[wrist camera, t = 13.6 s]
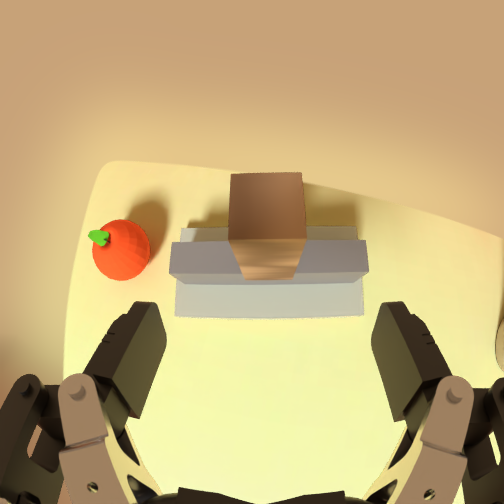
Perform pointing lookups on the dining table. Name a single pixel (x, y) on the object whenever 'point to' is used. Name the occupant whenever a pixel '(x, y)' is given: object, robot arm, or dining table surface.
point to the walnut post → (267, 224)
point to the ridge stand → (269, 291)
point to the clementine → (120, 249)
